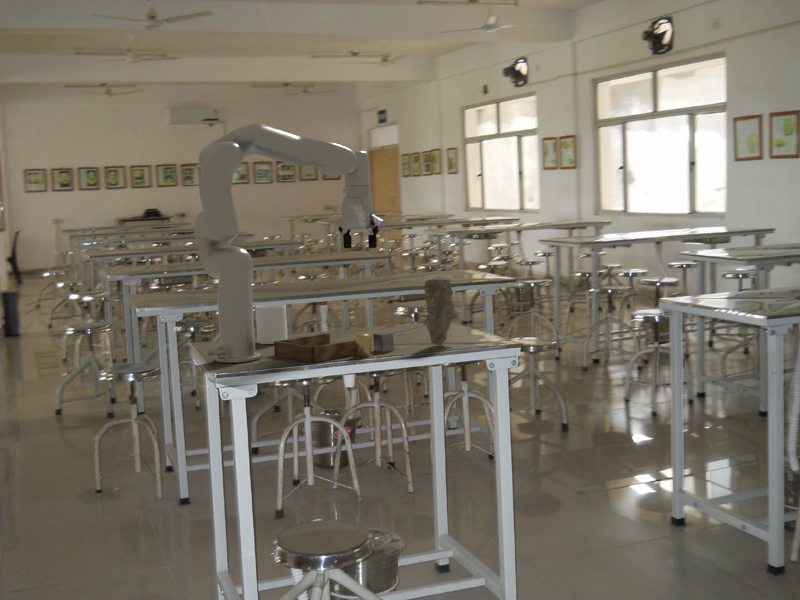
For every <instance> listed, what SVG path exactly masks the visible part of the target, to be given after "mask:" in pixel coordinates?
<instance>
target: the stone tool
mask: <svg viewBox="0 0 800 600" xmlns="http://www.w3.org/2000/svg"><path fill="white" fill-rule="evenodd" d="M424 284H425V285H424V293H425V304H426V309H427V310H426V311H427V315H426V318H425V319H424V320H423V321H422V324H423V325H425V326H426V328H427V331H428V334H429V336H430V337H429V338H430V343H431V344H432V345H435V346H441V345H443V344H445V342H446V340H447V338H448V335H447V333H448V332H449V331H450V328H451V324H452V323H453V322H456V321H457V320H458V318H459V316H458V315H457V313H455V306H454V303H453V300H452V297H453V295H454V292H453V289H452V284H451V279H450V278H448V277H447V278H446V277H444V276H436V277H433V278H430V279H428V280H426V281H425V282H424Z"/></svg>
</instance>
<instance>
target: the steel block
mask: <svg viewBox="0 0 800 600" xmlns="http://www.w3.org/2000/svg"><path fill="white" fill-rule="evenodd" d="M394 345H395V343H394V333H392V332H387V331H383V332H378V333H376V332H375V333H373V351H374V352H376V353H377V352H378V353H388V352H392V351H395V349H394V347H395V346H394Z"/></svg>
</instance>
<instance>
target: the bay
mask: <svg viewBox="0 0 800 600" xmlns="http://www.w3.org/2000/svg"><path fill="white" fill-rule="evenodd" d="M273 347H274V348H273V349H274V356H277V357H281V358H282V357H283V358H286V359H287V358H288V359H291V360H292V359H293V360H297V361H302V362H307V363H317V362H318V363H319V362H321V361H322V362H324V361H328V360H332V359H333V360H334V359H340V358H344V357H350V356H357V352H356V339H353V340H346V341H340V342H334V343H331V333H330V332H325V333H319V334H313V335H312V334H311V335H306V336H305V335H304V336H300V337H295V338H294V337H293V338H287V339H286V340H280V341H274V345H273Z"/></svg>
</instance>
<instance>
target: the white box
mask: <svg viewBox="0 0 800 600" xmlns="http://www.w3.org/2000/svg"><path fill="white" fill-rule="evenodd" d="M255 323H256V339H257V343H258V344H259V343H260V344H259V345H262V344H274V341H280V340H286V339H288V326H287V325H288V324H287V323H288V321H287V305H286V304H284V303H268V304H266V303H265V304H258V305H256V306H255Z"/></svg>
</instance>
